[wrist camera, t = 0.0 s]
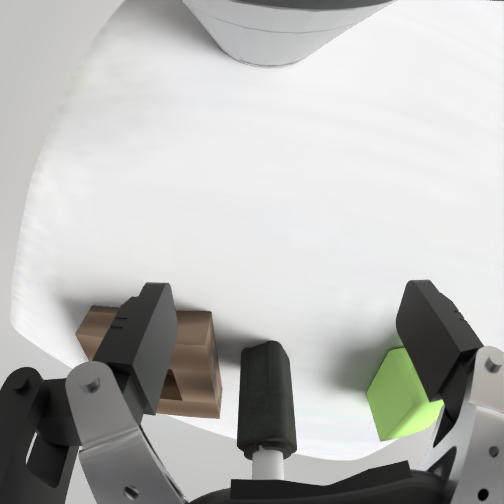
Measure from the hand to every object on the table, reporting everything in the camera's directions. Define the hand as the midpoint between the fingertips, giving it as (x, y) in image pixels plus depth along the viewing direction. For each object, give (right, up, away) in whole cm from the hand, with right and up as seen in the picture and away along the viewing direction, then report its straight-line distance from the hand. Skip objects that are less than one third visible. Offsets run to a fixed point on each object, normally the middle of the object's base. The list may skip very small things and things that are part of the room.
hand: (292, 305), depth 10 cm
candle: (0, -11, +26) cm, 29 cm away
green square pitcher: (+21, -16, +29) cm, 40 cm away
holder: (-13, -11, +26) cm, 32 cm away
